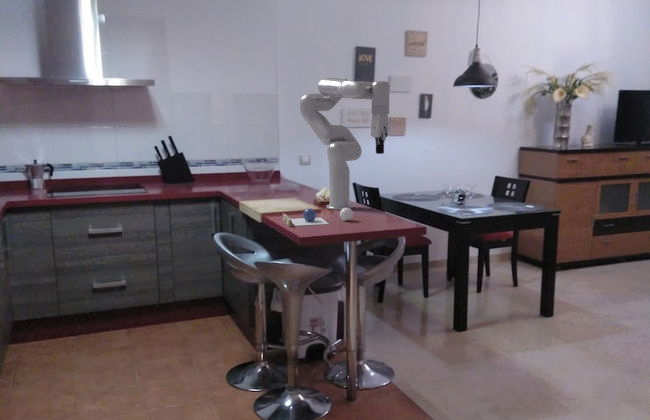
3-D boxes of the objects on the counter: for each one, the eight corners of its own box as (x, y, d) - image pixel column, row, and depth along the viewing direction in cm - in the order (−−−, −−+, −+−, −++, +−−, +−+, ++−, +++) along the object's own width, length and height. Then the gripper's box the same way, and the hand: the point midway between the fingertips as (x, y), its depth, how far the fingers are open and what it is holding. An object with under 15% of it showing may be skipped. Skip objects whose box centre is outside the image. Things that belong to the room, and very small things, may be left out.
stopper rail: (282, 219, 228) (282, 213, 227) (284, 219, 228) (284, 213, 228) (289, 226, 213) (289, 220, 212) (292, 226, 213) (291, 220, 212)
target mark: (288, 219, 228) (288, 219, 227) (320, 217, 231) (320, 217, 231) (295, 226, 214) (295, 225, 214) (329, 224, 218) (329, 223, 218)
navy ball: (310, 204, 225) (317, 215, 226) (299, 212, 225) (307, 222, 226) (312, 207, 219) (319, 217, 221) (301, 214, 219) (308, 225, 221)
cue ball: (346, 203, 225) (351, 213, 228) (335, 210, 225) (340, 220, 227) (352, 208, 221) (356, 218, 224) (341, 215, 220) (345, 225, 223)
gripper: (366, 111, 237) (366, 152, 240) (378, 110, 222) (377, 154, 226) (382, 110, 239) (381, 152, 242) (395, 110, 224) (394, 154, 227)
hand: (379, 153), depth 234 cm, fingers closed
